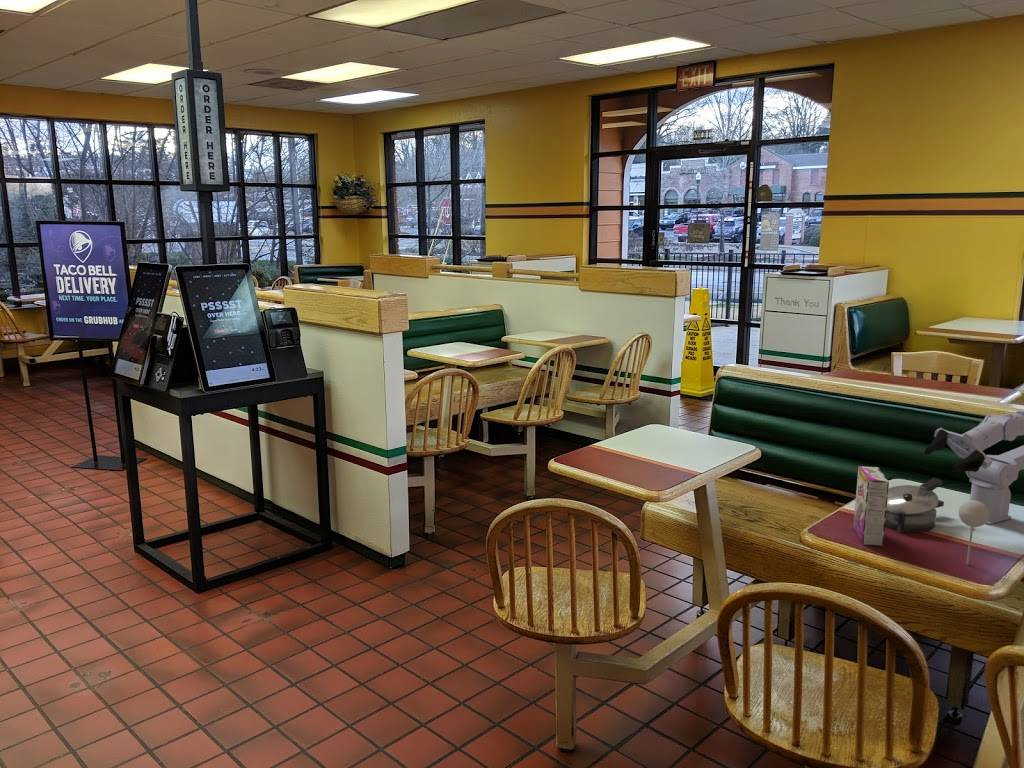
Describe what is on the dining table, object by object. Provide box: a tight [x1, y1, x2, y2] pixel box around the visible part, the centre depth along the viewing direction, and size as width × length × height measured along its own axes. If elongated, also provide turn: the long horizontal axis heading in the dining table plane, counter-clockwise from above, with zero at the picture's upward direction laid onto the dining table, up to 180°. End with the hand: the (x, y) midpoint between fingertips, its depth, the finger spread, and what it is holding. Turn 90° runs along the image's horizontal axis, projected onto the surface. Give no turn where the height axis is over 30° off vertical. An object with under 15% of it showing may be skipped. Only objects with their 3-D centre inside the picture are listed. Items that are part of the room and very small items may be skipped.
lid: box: [886, 477, 943, 515], centre depth 204 cm, size 19×14×2 cm
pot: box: [885, 499, 945, 534], centre depth 206 cm, size 20×13×5 cm, turn 117°
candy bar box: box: [852, 465, 890, 547], centre depth 194 cm, size 11×5×16 cm, turn 168°
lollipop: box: [958, 500, 989, 566], centre depth 179 cm, size 6×6×15 cm
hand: (939, 460), depth 196 cm, fingers open, 7 cm apart
